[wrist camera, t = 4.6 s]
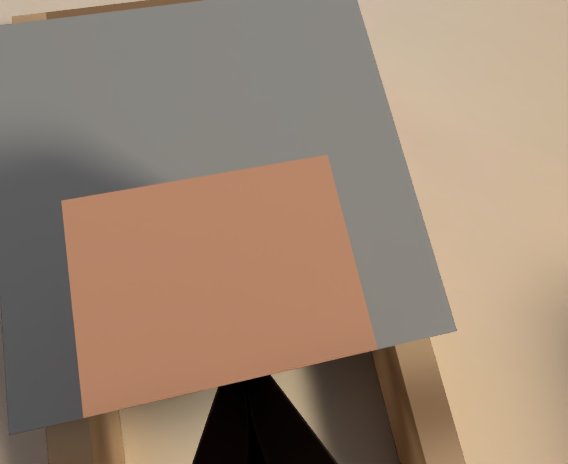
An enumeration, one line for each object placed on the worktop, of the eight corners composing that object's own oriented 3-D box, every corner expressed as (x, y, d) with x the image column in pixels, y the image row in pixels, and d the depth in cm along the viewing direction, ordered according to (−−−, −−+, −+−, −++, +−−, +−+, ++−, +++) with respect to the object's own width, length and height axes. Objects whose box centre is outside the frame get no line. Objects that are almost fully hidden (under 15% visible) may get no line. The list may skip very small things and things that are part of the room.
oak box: (442, 496, 16) (485, 531, 13) (102, 592, 14) (64, 656, 11) (315, 30, 20) (326, -22, 17) (48, 67, 19) (11, 16, 16)
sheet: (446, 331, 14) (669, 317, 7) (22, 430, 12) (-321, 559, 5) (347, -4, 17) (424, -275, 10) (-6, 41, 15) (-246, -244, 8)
